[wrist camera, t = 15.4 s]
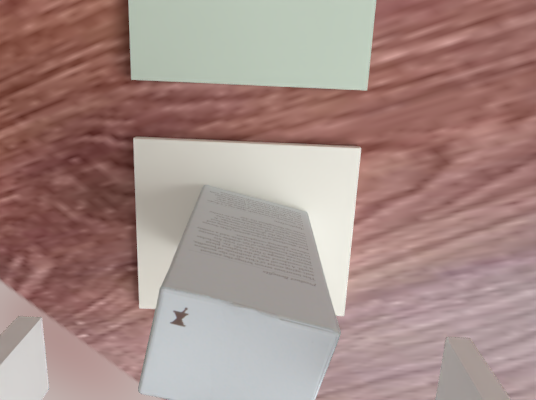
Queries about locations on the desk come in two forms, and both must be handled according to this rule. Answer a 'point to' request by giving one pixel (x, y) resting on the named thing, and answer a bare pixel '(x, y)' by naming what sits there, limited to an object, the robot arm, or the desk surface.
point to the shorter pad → (253, 42)
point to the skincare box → (241, 306)
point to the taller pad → (247, 183)
